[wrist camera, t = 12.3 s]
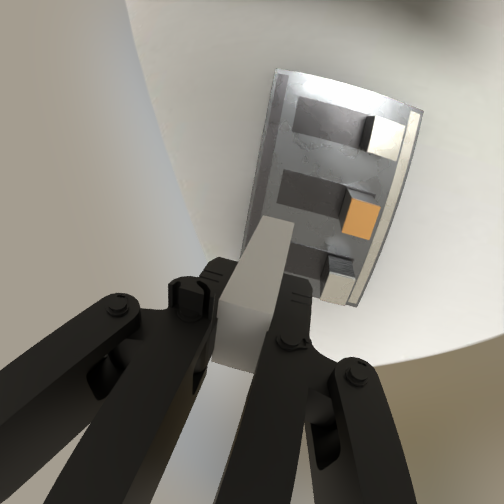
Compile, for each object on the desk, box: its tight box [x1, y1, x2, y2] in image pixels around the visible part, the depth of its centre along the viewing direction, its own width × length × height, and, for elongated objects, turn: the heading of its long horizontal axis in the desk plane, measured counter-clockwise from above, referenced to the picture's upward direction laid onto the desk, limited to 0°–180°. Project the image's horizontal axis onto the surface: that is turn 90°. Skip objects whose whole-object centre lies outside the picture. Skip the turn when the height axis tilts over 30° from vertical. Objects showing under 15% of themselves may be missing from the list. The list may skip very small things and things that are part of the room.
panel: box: [240, 68, 423, 307], centre depth 25 cm, size 22×14×6 cm, turn 170°
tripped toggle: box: [339, 188, 381, 240], centre depth 24 cm, size 3×2×4 cm
